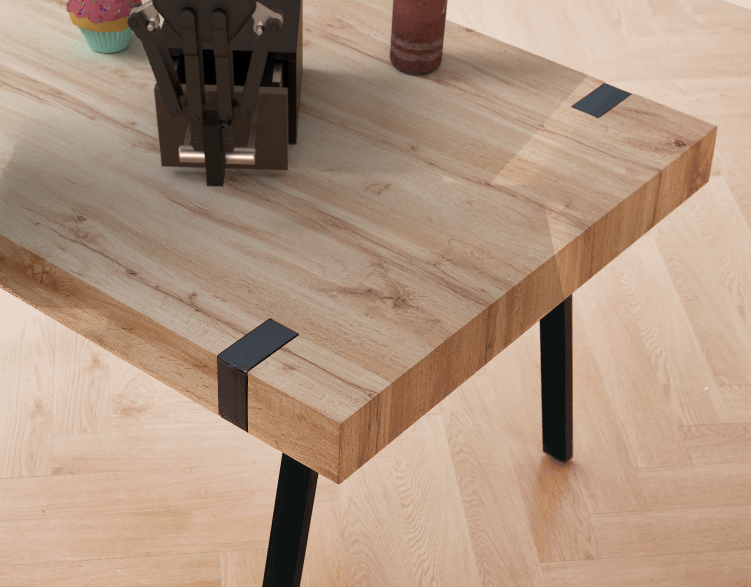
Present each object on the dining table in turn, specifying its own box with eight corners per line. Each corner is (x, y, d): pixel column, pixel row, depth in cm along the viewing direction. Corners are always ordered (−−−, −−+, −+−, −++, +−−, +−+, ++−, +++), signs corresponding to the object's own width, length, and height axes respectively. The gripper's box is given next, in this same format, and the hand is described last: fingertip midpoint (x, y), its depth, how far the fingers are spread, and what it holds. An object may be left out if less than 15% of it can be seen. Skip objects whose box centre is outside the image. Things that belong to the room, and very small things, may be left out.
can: (403, 44, 130) (411, -68, 121) (449, 60, 128) (461, -53, 119) (378, 65, 126) (384, -49, 117) (425, 81, 124) (435, -34, 115)
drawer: (285, 204, 104) (284, 126, 98) (153, 200, 103) (144, 121, 97) (294, 94, 119) (294, 20, 113) (179, 90, 118) (173, 16, 112)
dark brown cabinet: (296, 144, 113) (296, 52, 106) (164, 139, 113) (155, 47, 106) (302, 67, 125) (302, -20, 118) (183, 63, 125) (176, -25, 117)
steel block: (201, 136, 110) (197, 84, 106) (207, 109, 114) (204, 59, 110) (250, 138, 110) (248, 87, 106) (255, 112, 114) (253, 61, 110)
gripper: (287, -85, 87) (289, 157, 103) (125, -92, 87) (151, 152, 102) (281, -45, 82) (284, 204, 97) (107, -53, 81) (139, 199, 97)
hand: (216, 177), depth 100 cm, fingers closed
